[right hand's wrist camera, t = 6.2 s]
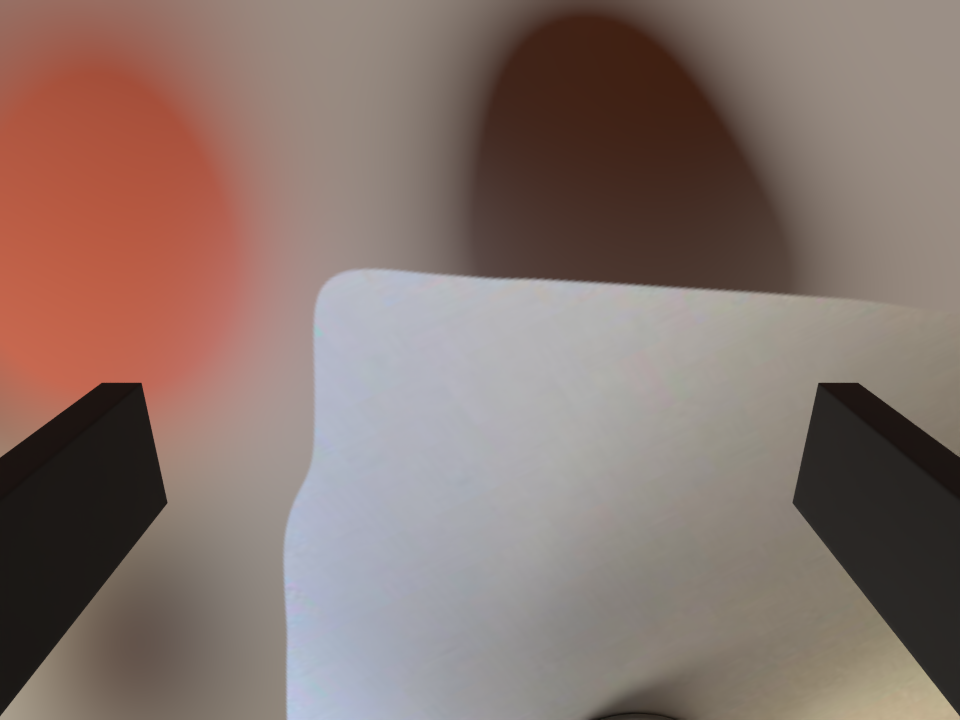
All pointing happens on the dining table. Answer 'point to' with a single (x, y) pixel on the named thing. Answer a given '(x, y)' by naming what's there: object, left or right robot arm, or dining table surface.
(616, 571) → the dining table surface
